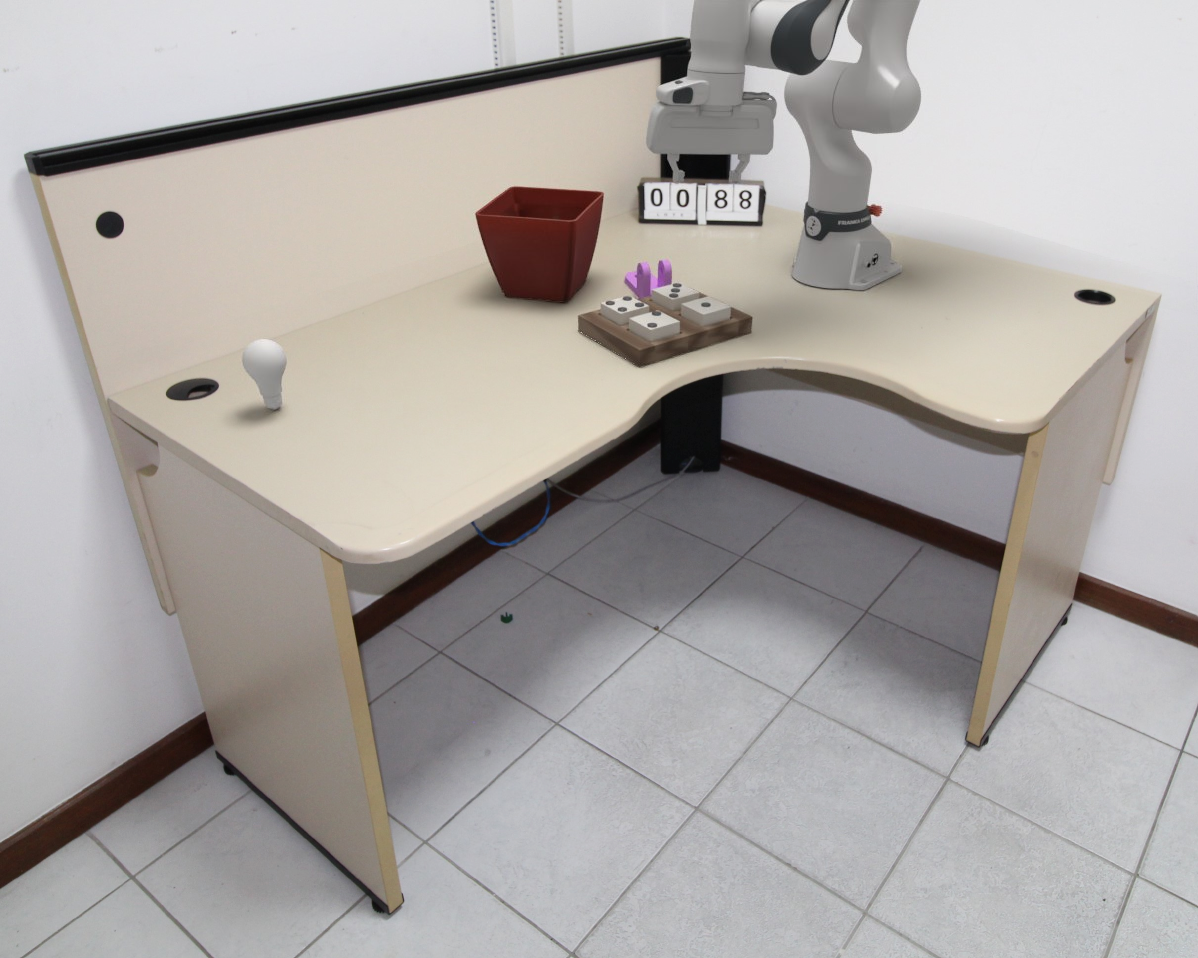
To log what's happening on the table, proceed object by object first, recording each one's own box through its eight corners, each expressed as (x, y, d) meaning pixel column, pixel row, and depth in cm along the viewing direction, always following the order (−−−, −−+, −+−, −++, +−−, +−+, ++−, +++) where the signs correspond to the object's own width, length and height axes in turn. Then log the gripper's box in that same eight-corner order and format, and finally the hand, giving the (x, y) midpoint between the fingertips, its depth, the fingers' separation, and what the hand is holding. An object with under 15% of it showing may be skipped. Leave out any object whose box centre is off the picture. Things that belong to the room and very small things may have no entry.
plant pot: (479, 302, 179) (472, 212, 170) (516, 268, 195) (511, 185, 186) (577, 312, 175) (574, 220, 166) (606, 277, 190) (605, 191, 181)
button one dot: (707, 313, 169) (708, 295, 167) (729, 324, 164) (730, 305, 163) (680, 321, 166) (681, 302, 164) (702, 332, 162) (703, 313, 160)
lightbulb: (258, 400, 146) (243, 333, 140) (299, 398, 146) (286, 331, 140) (249, 419, 141) (233, 350, 135) (291, 417, 141) (277, 348, 135)
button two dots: (657, 328, 163) (657, 309, 162) (679, 339, 159) (680, 320, 157) (628, 336, 161) (629, 317, 159) (650, 348, 156) (650, 328, 155)
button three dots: (677, 299, 175) (678, 281, 173) (698, 309, 170) (699, 291, 168) (651, 306, 172) (651, 288, 170) (671, 317, 167) (672, 298, 166)
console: (686, 301, 178) (686, 286, 177) (751, 332, 166) (752, 316, 164) (578, 331, 167) (578, 315, 165) (639, 367, 154) (639, 350, 153)
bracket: (671, 299, 180) (672, 263, 176) (643, 302, 179) (643, 266, 175) (647, 276, 191) (648, 242, 187) (621, 279, 189) (621, 245, 186)
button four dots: (628, 312, 169) (628, 294, 168) (649, 323, 165) (649, 304, 163) (600, 320, 166) (600, 301, 165) (620, 331, 162) (620, 312, 160)
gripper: (771, 90, 153) (761, 179, 159) (646, 87, 149) (641, 178, 156) (785, 94, 147) (774, 187, 154) (655, 92, 144) (650, 186, 150)
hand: (706, 182), depth 155 cm, fingers open, 8 cm apart
